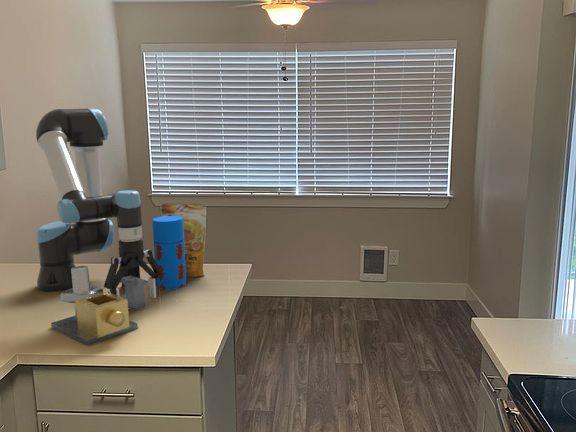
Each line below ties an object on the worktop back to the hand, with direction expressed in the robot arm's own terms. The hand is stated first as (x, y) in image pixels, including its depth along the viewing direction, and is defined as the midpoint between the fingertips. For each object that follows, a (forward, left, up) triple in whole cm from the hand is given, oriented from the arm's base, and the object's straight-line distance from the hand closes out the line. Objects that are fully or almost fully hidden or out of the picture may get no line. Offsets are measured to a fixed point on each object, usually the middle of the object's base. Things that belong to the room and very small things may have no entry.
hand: (135, 302), depth 180 cm
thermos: (-10, +22, -2) cm, 24 cm away
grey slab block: (0, 0, -2) cm, 2 cm away
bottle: (-21, +12, -2) cm, 24 cm away
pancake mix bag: (-17, +34, -2) cm, 38 cm away
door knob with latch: (+6, -18, -2) cm, 19 cm away
